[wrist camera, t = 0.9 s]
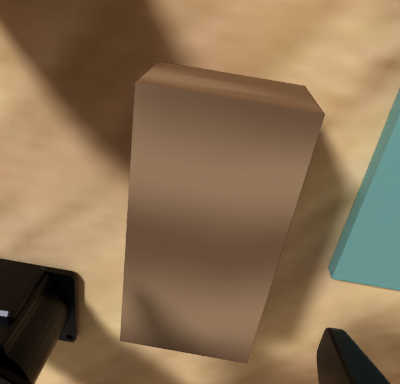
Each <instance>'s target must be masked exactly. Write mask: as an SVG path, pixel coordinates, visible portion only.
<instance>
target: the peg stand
mask: <svg viewBox="0 0 400 384" xmlns="http://www.w3.org/2000/svg"><path fill="white" fill-rule="evenodd" d="M328 269H329V272H330V275H331V278H332V279H337V280H342V281H348V282H354V283H360V284H365V285H371V286H377V287H383V288H388V289H394V290H400V89H399V92H398V94H397V97H396V99H395V102H394V104H393V107H392V109H391V112H390V114H389V117H388V119H387V122H386V124H385V127H384V129H383V132H382V134H381V137H380V139H379V142H378V144H377V147H376V149H375V152H374V154H373V157H372V159H371V162H370V164H369V167H368V169H367V172H366V174H365V177H364V179H363V182H362V184H361V187H360V189H359V192H358V194H357V197H356V199H355V202H354V204H353V207H352V209H351V212H350V214H349V217H348V219H347V222H346V224H345V227H344V229H343V232H342V234H341V237H340V239H339V242H338V244H337V247H336V249H335V252H334V254H333V257H332V259H331V262H330V264H329V267H328Z"/></svg>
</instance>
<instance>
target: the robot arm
mask: <svg viewBox="0 0 400 384" xmlns="http://www.w3.org/2000/svg"><path fill="white" fill-rule="evenodd" d="M68 278H69V279H68ZM77 336H78V296H77V276H76V274H75V273H73V272H71V271H67V270H61V269H55V268H49V267H44V266H38V265H32V264H27V263H21V262H15V261H9V260H4V259H0V384H35V382H36V380H37V378H38V376H39V374H40V372H41V371H42V369H43V367H44V365H45V363H46V361H47V359H48V357H49V355H50V353H51V351H52V350H53V348H54V346H55V344H56V342H57V340H63V341H68V342H73V341H75V340H76V339H77ZM317 368H318V379H319V384H390V382H389V381H388V380H387V379H386V378H385V377H384V376H383V374H382V373H381V372H380V371H379V370H378V369H377V367H376V366H375V365H374V364H373V363H372V362H371V361H370V359H369V358H368V357H367V356H366V355H365V354H364V352H363V351H362V350H361V349H360V348H359V347H358V345H357V344H356V343H355V342H354V341H353V340H352V339H351V337H350V336H349V335H348V334H347V333H346V332H345V331H344V330H342V329H336V328H326V329H325V331H324V334H323V336H322V339H321V342H320V344H319V347H318V350H317Z"/></svg>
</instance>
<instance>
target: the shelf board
mask: <svg viewBox="0 0 400 384" xmlns="http://www.w3.org/2000/svg"><path fill="white" fill-rule="evenodd" d="M324 116H325V114H324V112H323V111H322V109H321V108H320V107H319V105H318V104H317V102H316V101H315V99H314V98H313V97H312V95H311V94H310V92H309V91H308V90H307V88H306V87H305V86H302V85H296V84H290V83H284V82H278V81H272V80H266V79H260V78H255V77H249V76H243V75H237V74H231V73H225V72H219V71H213V70H207V69H201V68H195V67H189V66H183V65H177V64H171V63H165V62H158V63H157V64H156V65H155V66H154V67H152V68H151V69H150V70H149V71H148V72H147V73H145V74H144V75H143V76H142V77H141V78H140V79H138V80H137V81H136V82H135V93H134V110H133V127H132V144H131V162H130V179H129V196H128V213H127V231H126V248H125V265H124V282H123V299H122V317H121V334H120V341H123V342H129V343H135V344H140V345H146V346H152V347H157V348H163V349H168V350H174V351H180V352H185V353H191V354H197V355H202V356H208V357H214V358H219V359H225V360H231V361H236V362H242V363H247V361H248V358H249V355H250V351H251V348H252V345H253V342H254V339H255V336H256V332H257V329H258V326H259V323H260V320H261V316H262V313H263V310H264V307H265V304H266V301H267V297H268V294H269V291H270V288H271V285H272V281H273V278H274V275H275V272H276V269H277V265H278V262H279V259H280V256H281V253H282V250H283V246H284V243H285V240H286V237H287V234H288V230H289V227H290V224H291V221H292V218H293V214H294V211H295V208H296V205H297V202H298V199H299V195H300V192H301V189H302V186H303V183H304V179H305V176H306V173H307V170H308V167H309V163H310V160H311V157H312V154H313V151H314V148H315V144H316V141H317V138H318V135H319V132H320V128H321V125H322V122H323V119H324Z"/></svg>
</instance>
